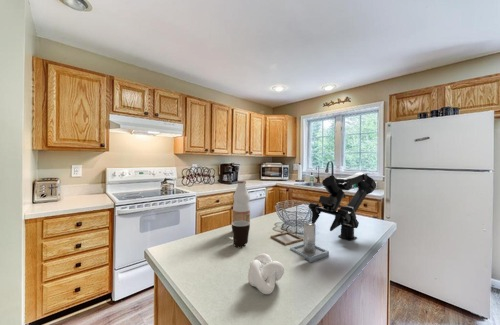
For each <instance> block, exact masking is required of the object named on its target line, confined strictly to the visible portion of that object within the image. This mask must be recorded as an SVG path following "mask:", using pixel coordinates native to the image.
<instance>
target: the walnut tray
mask: <svg viewBox="0 0 500 325" xmlns="http://www.w3.org/2000/svg"><path fill="white" fill-rule="evenodd" d="M270 238H271V239H273V240H274V241H276V242H278V243H280V244H282V245H284V246H288V245H292V244H295V243H300V242H304V237H303V238H302V237H300V236H298V235H296V234H293V233H291V232H289V231H285V232H280V233H277V234H273V235H270Z"/></svg>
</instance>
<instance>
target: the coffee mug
mask: <svg viewBox="0 0 500 325" xmlns="http://www.w3.org/2000/svg"><path fill="white" fill-rule="evenodd" d="M230 225H231V231H232V232H231V233H232V241H233V246H234V247H236V248H246V247H247V245H246V244H247V243H248V241H249V233H250V230H249V226H250V227H251V222H250V223H249V222H247V221H234V222H233V221H232V222H231V224H230Z"/></svg>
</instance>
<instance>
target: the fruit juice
mask: <svg viewBox="0 0 500 325" xmlns="http://www.w3.org/2000/svg"><path fill="white" fill-rule="evenodd" d="M236 184H237V186H236V189H235V192H234V194H232V196H233V205H232V222H234V221H247V222H249V223H250V224H251V204H250V198H251V197H250V196H251V195H250V193H249V192H248V188H247V186H246V185H247V181H246V180H241V179H240V180H237V181H236ZM250 230H251V225H250V226H249V231H250Z"/></svg>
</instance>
